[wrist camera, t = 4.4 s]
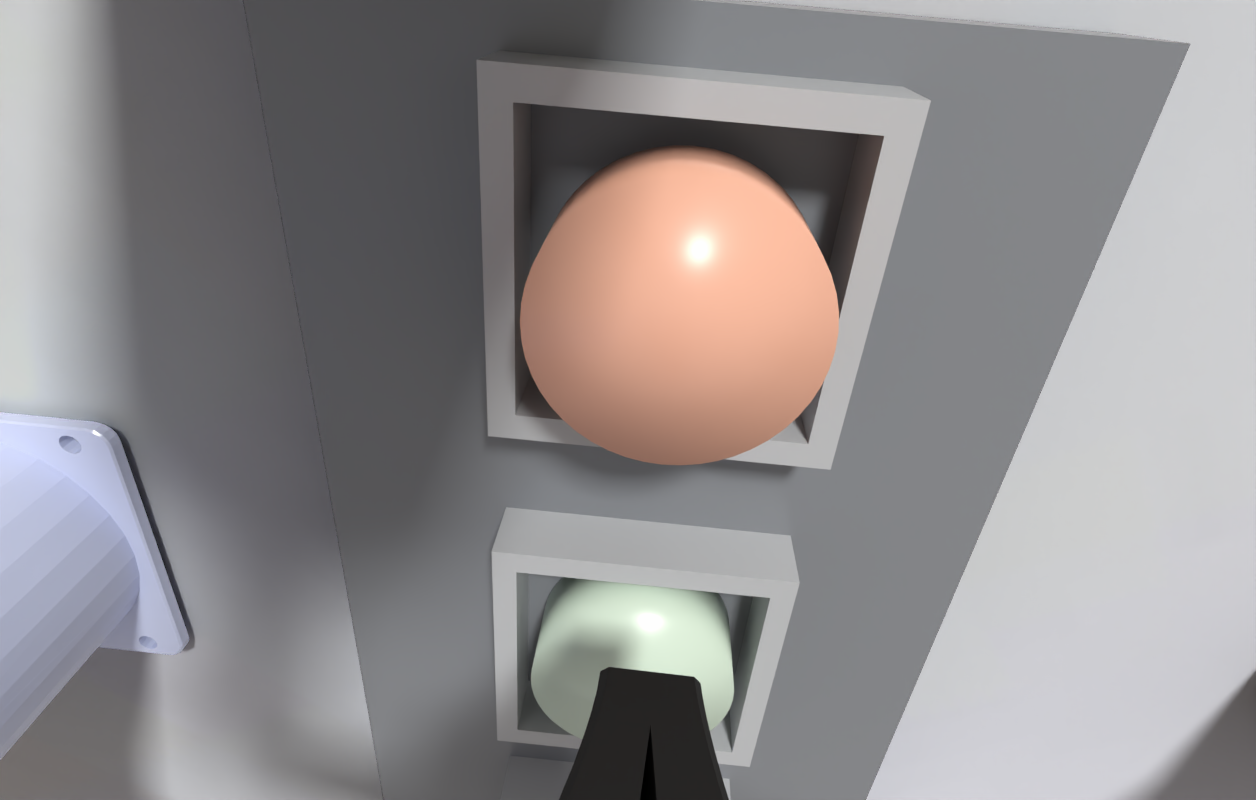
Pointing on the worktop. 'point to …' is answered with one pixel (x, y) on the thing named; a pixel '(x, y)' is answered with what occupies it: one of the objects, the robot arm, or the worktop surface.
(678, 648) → the sage button
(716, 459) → the terracotta button
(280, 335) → the worktop surface
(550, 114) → the button panel
